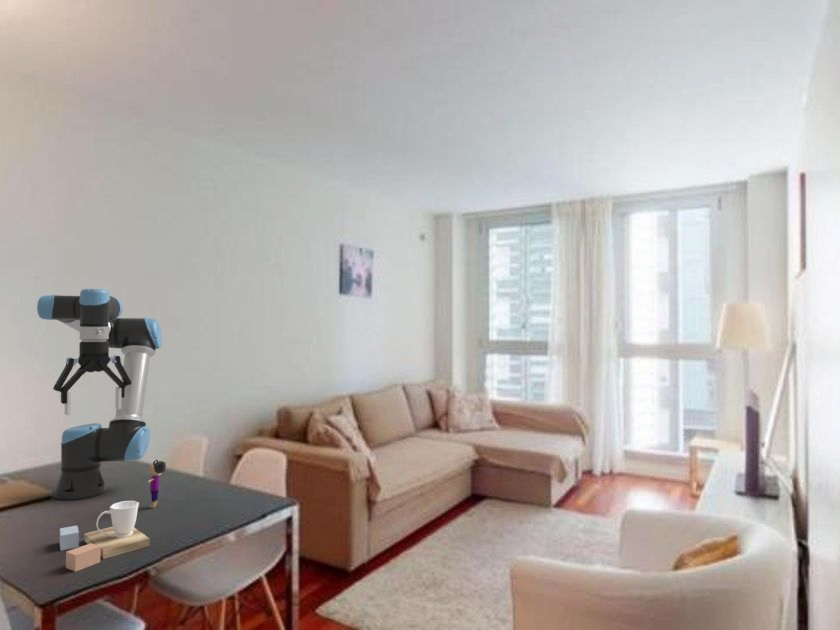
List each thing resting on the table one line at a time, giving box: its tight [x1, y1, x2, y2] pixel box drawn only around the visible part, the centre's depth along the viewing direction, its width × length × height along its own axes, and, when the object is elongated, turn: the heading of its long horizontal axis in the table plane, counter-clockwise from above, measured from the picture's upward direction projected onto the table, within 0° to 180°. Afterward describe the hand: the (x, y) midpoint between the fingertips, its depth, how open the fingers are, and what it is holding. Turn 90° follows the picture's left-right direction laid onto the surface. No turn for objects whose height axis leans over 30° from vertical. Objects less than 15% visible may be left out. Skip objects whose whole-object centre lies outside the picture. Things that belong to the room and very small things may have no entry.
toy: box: [147, 459, 167, 509], centre depth 174 cm, size 10×6×15 cm, turn 5°
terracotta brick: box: [65, 543, 101, 572], centre depth 133 cm, size 6×4×4 cm, turn 152°
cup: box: [96, 500, 140, 538], centre depth 146 cm, size 7×10×8 cm
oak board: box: [83, 526, 151, 560], centre depth 145 cm, size 16×11×2 cm
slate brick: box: [59, 525, 80, 551], centre depth 144 cm, size 6×4×4 cm, turn 36°
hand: (93, 411), depth 162 cm, fingers open, 13 cm apart
